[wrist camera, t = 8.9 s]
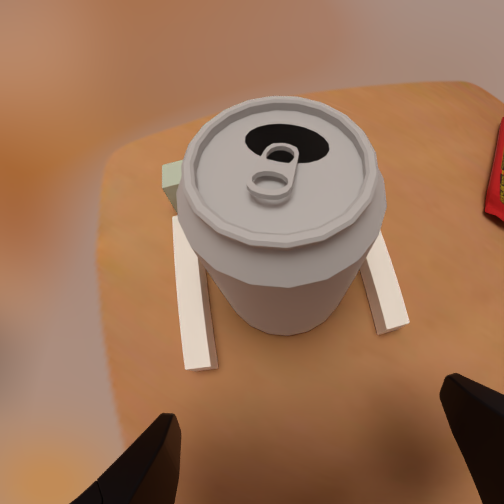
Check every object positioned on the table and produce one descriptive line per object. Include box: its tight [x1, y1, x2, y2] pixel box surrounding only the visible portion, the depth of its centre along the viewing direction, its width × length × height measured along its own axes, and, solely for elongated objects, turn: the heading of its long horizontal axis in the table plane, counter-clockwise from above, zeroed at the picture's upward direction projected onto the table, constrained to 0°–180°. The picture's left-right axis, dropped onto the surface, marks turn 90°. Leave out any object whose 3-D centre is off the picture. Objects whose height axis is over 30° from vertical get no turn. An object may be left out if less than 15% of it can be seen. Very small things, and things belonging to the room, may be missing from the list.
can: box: [176, 96, 387, 336], centre depth 14 cm, size 8×8×12 cm
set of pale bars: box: [162, 160, 410, 371], centre depth 19 cm, size 13×13×4 cm
